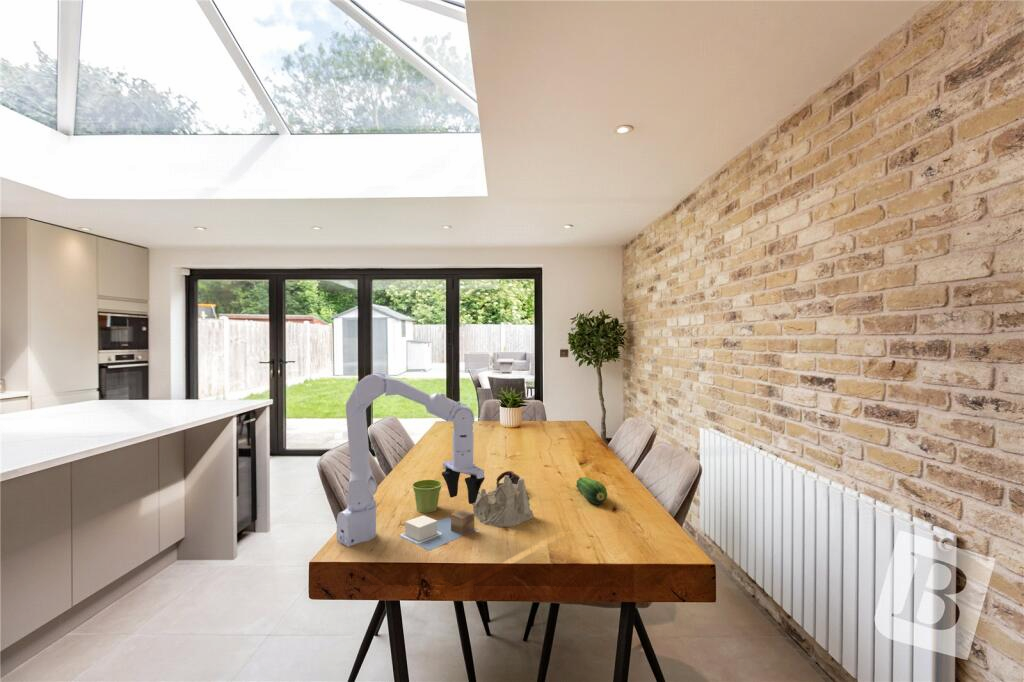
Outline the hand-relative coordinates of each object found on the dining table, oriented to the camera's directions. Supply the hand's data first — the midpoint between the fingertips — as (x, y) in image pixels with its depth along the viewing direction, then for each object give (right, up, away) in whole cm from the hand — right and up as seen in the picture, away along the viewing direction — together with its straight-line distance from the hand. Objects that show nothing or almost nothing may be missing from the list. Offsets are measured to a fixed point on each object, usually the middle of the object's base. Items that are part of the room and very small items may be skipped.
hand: (462, 499), depth 120 cm
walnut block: (0, -8, 0) cm, 8 cm away
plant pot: (-13, -10, +16) cm, 23 cm away
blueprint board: (-6, -9, -1) cm, 11 cm away
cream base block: (-11, -8, -3) cm, 14 cm away
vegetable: (+40, -10, +30) cm, 51 cm away
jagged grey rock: (+11, -10, +10) cm, 18 cm away
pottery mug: (+13, -10, +36) cm, 40 cm away
